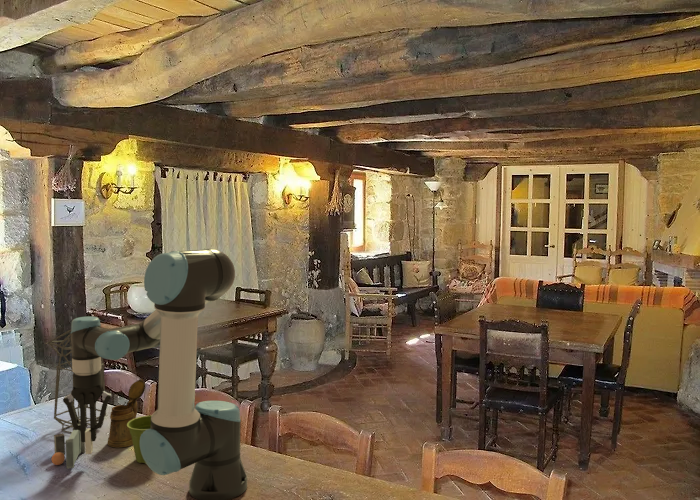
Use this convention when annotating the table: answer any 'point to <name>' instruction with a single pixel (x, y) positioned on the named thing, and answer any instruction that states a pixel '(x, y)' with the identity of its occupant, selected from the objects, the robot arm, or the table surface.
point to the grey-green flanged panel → (73, 448)
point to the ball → (58, 458)
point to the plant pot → (138, 434)
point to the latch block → (59, 443)
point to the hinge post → (82, 444)
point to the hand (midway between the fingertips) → (89, 452)
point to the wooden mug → (125, 417)
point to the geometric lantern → (73, 373)
